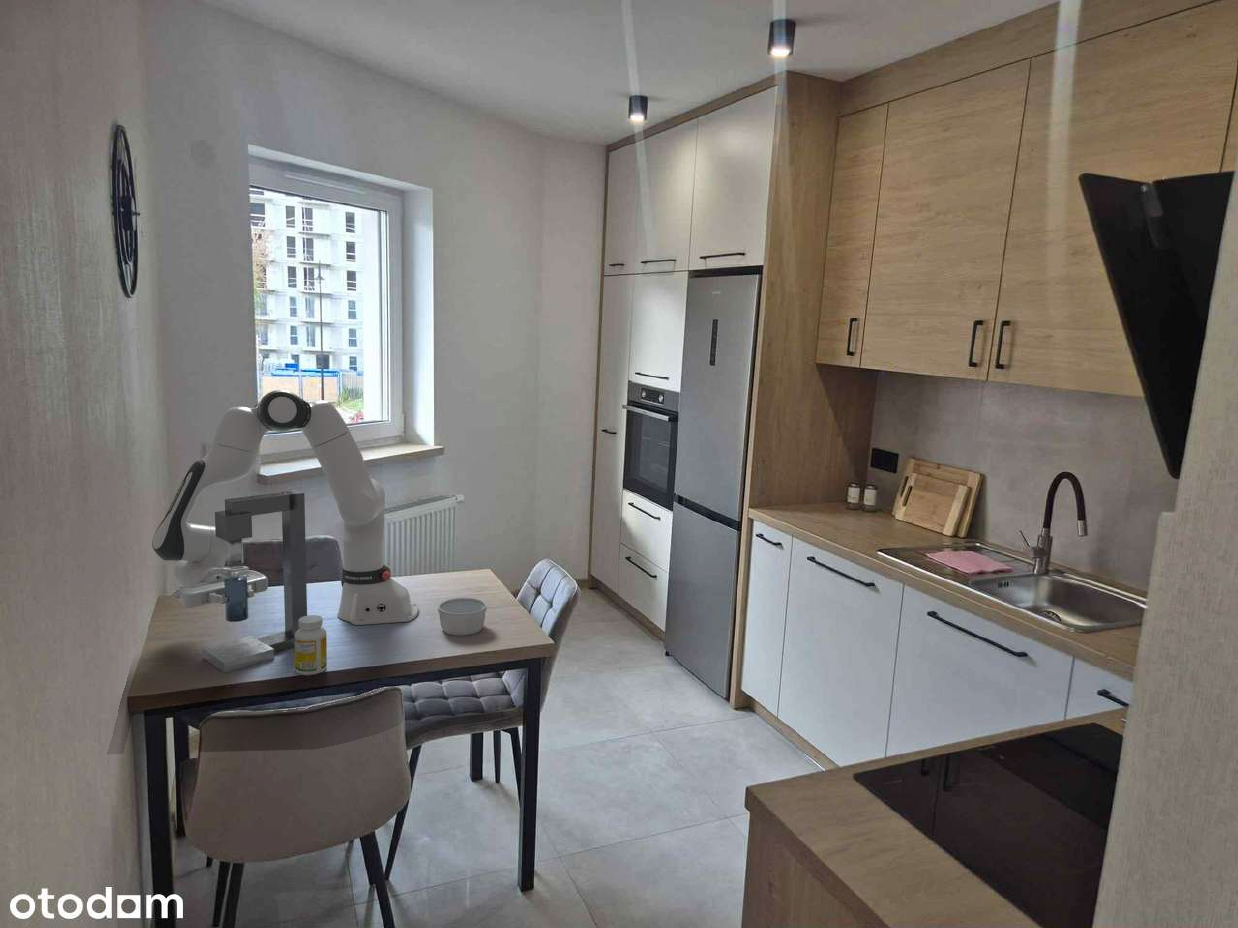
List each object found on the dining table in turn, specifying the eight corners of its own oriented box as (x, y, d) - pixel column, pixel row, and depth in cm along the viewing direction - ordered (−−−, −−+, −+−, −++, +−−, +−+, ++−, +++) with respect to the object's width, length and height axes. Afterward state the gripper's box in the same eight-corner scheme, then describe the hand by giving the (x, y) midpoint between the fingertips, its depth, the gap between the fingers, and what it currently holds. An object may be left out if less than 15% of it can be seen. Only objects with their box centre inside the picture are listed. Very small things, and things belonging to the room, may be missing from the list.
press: (292, 633, 210) (288, 487, 203) (315, 646, 202) (312, 495, 196) (202, 658, 192) (195, 499, 186) (224, 672, 185) (217, 508, 178)
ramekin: (436, 638, 211) (436, 613, 210) (439, 620, 224) (439, 597, 223) (485, 637, 213) (486, 613, 212) (486, 620, 226) (486, 597, 225)
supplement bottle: (304, 678, 184) (303, 626, 181) (289, 669, 188) (288, 618, 186) (332, 669, 189) (331, 618, 187) (317, 660, 194) (316, 611, 191)
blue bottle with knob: (251, 614, 194) (249, 569, 192) (244, 621, 189) (242, 576, 187) (230, 614, 193) (228, 569, 192) (222, 621, 189) (220, 576, 187)
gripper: (168, 580, 190) (192, 594, 181) (252, 564, 206) (277, 576, 197) (169, 605, 191) (193, 620, 182) (252, 587, 207) (278, 600, 198)
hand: (238, 597), depth 190 cm, fingers closed on blue bottle with knob, 5 cm apart
